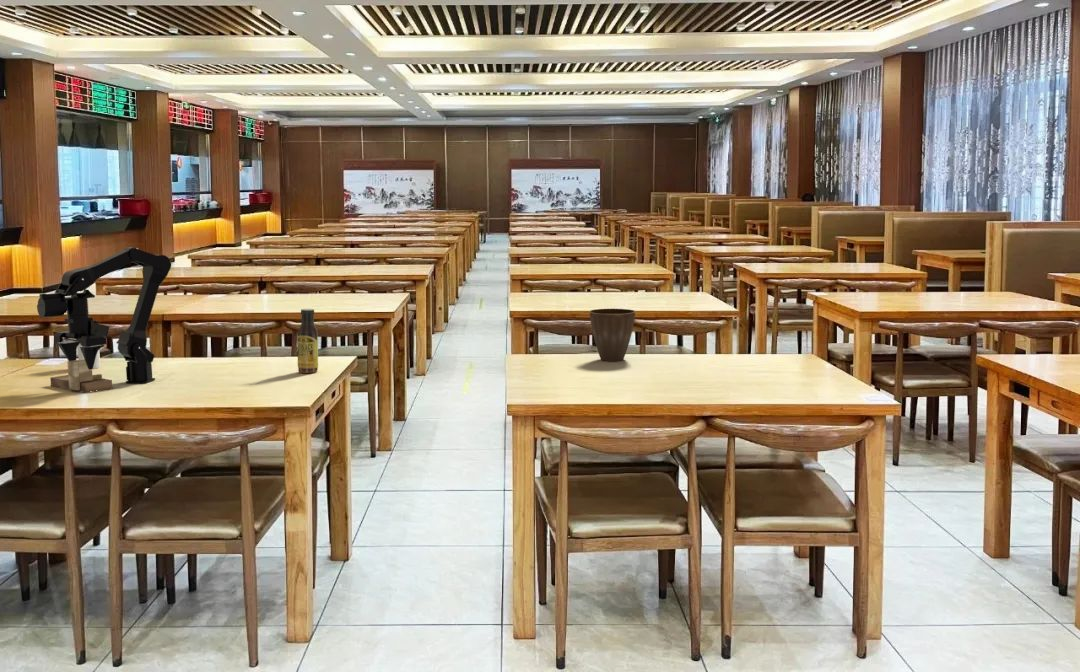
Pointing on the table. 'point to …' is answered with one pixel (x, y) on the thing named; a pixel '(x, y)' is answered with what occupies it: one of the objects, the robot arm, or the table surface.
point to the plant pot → (612, 332)
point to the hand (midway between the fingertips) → (82, 367)
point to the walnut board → (82, 383)
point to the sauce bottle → (307, 343)
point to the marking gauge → (79, 373)
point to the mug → (97, 359)
